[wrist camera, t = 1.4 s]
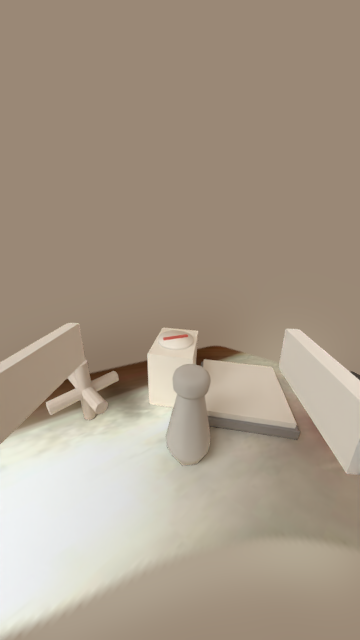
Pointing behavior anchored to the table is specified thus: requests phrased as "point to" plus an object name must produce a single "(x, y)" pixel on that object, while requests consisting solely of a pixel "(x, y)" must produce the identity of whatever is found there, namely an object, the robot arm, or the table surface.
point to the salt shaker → (189, 415)
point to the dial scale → (222, 387)
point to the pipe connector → (84, 392)
